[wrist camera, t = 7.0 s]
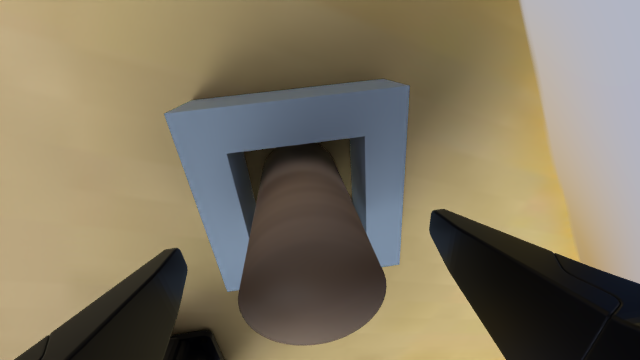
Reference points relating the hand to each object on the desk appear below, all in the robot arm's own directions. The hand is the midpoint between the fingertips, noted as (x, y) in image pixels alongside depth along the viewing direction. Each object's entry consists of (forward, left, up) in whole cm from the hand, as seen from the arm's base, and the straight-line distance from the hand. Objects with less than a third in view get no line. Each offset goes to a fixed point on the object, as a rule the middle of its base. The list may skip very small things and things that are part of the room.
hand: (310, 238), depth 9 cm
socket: (0, 0, -6) cm, 6 cm away
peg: (0, 0, -6) cm, 6 cm away
